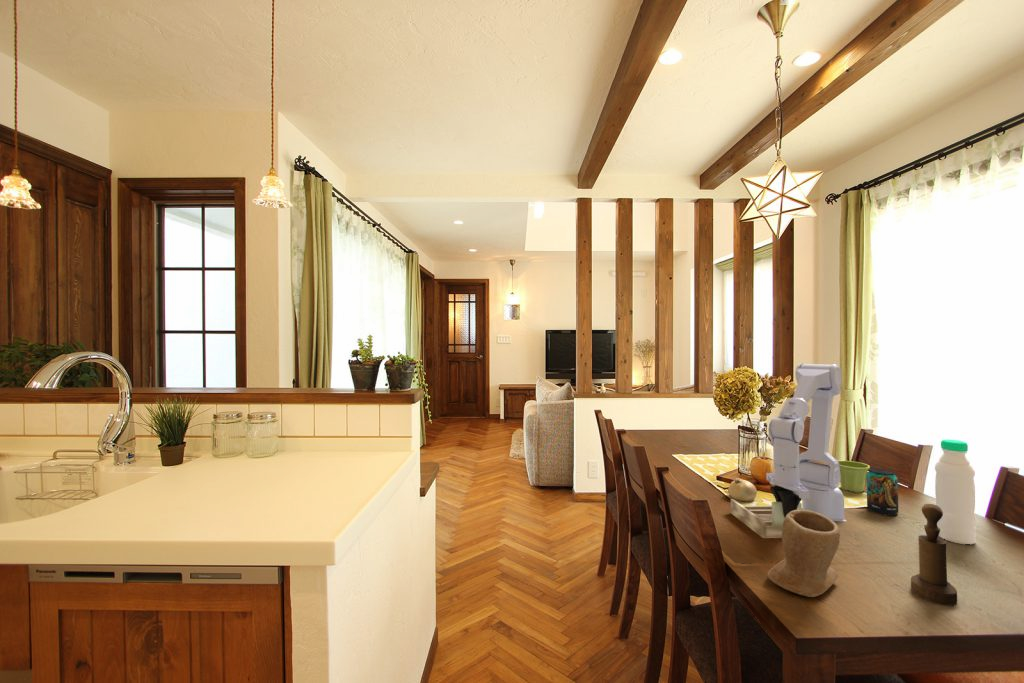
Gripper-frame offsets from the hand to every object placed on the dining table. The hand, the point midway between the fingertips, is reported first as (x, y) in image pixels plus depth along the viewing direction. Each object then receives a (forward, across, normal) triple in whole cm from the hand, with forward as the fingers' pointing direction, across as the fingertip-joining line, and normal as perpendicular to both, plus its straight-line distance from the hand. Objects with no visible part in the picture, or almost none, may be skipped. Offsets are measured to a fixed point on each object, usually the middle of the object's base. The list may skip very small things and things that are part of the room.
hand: (786, 516), depth 111 cm
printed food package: (+5, -16, +38) cm, 41 cm away
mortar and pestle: (+5, +26, +12) cm, 30 cm away
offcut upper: (+3, -6, 0) cm, 6 cm away
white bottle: (+5, +2, +41) cm, 41 cm away
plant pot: (+5, -34, +44) cm, 56 cm away
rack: (+5, -6, 0) cm, 7 cm away
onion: (+5, -26, +2) cm, 26 cm away
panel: (+4, 0, 0) cm, 4 cm away
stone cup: (+5, +22, -10) cm, 25 cm away
